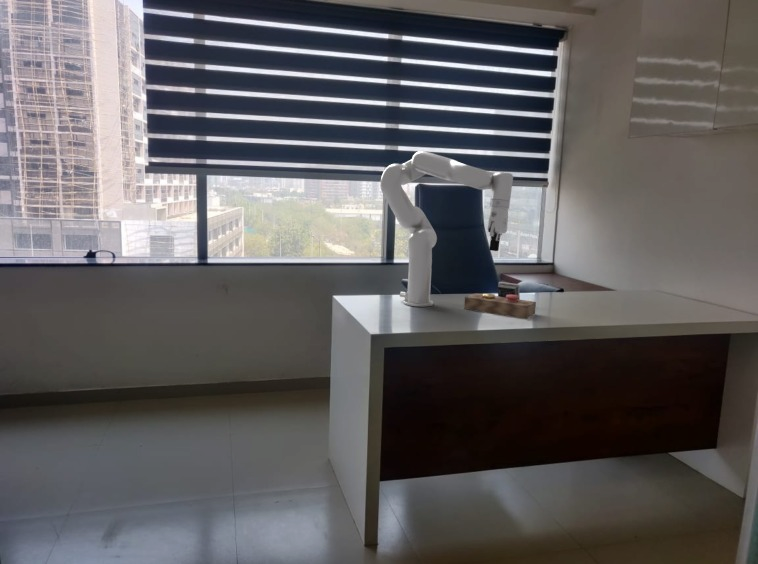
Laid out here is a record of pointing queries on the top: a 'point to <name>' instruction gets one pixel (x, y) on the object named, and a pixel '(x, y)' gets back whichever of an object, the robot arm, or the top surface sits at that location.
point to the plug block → (500, 306)
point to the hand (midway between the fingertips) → (493, 250)
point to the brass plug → (488, 296)
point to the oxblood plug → (512, 298)
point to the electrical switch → (508, 289)
